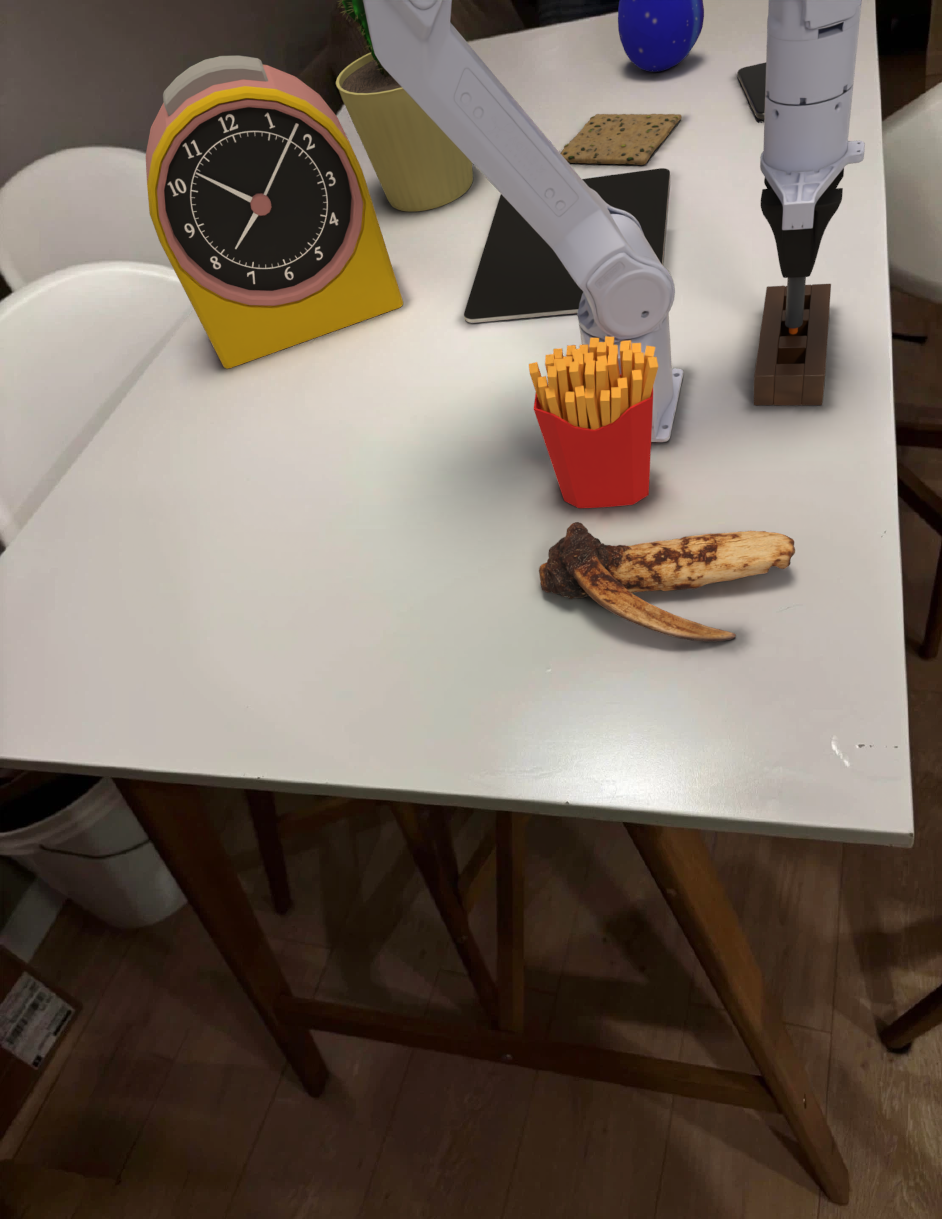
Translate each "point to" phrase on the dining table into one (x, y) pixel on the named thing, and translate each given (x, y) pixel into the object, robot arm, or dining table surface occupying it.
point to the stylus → (795, 303)
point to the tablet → (530, 269)
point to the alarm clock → (263, 209)
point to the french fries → (598, 420)
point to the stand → (792, 350)
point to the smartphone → (754, 86)
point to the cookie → (619, 138)
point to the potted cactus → (400, 133)
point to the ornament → (659, 31)
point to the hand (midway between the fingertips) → (797, 268)
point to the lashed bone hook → (658, 572)
